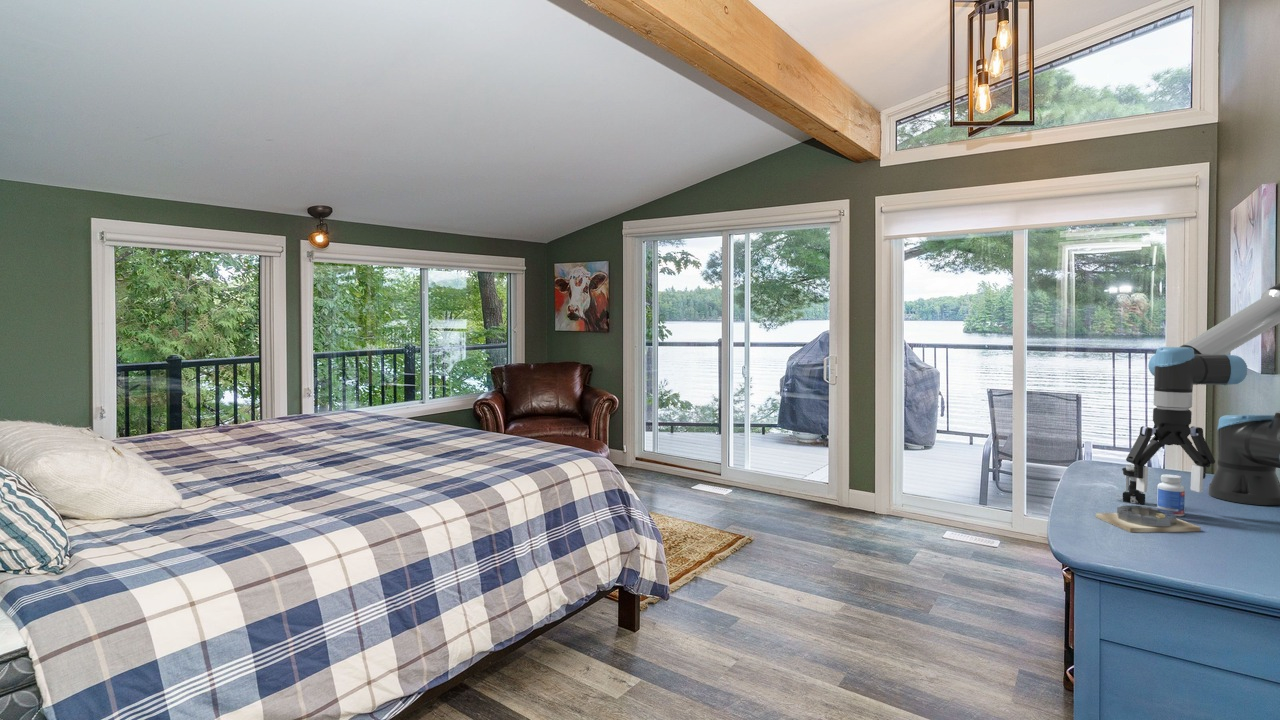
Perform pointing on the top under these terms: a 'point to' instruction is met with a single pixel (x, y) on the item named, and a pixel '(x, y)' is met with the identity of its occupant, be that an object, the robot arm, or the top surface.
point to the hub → (1146, 516)
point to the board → (1130, 527)
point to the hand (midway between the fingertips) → (1168, 491)
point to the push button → (1131, 488)
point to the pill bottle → (1171, 494)
